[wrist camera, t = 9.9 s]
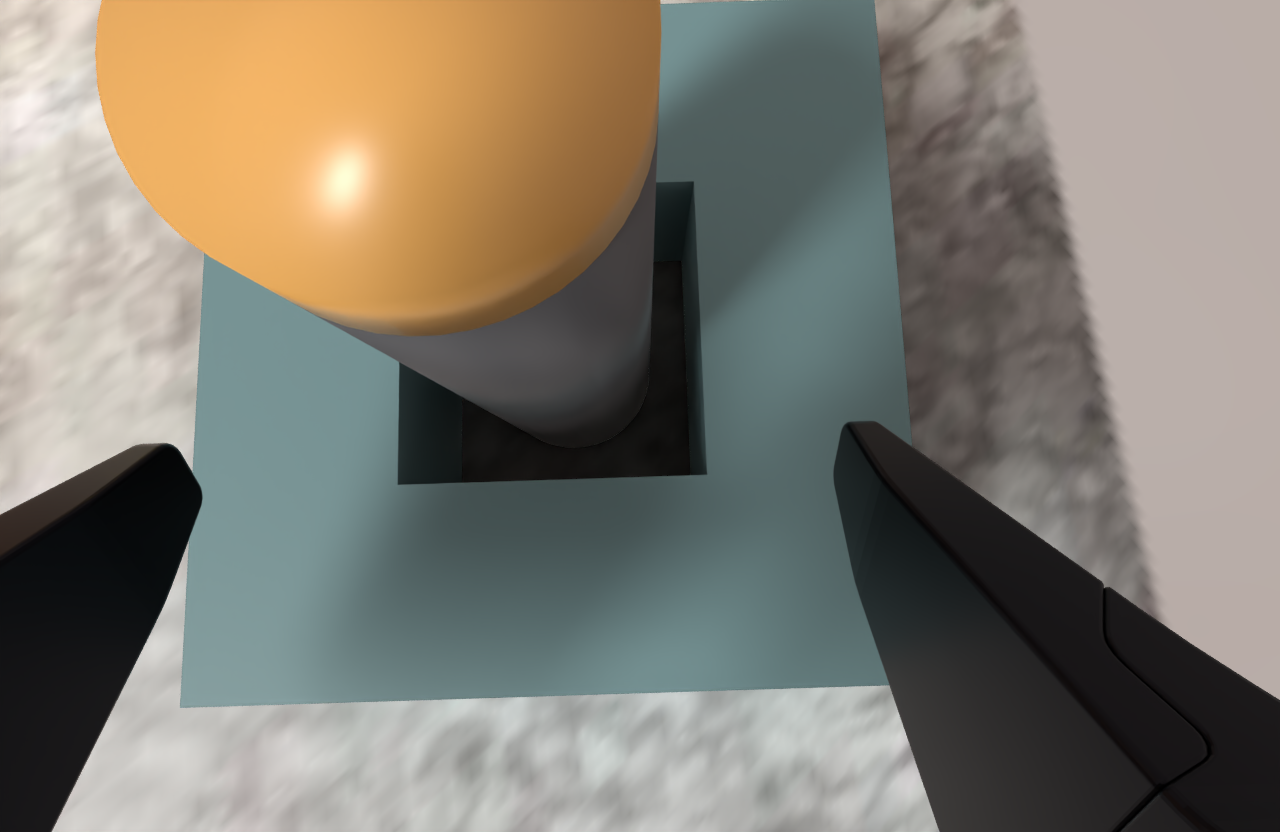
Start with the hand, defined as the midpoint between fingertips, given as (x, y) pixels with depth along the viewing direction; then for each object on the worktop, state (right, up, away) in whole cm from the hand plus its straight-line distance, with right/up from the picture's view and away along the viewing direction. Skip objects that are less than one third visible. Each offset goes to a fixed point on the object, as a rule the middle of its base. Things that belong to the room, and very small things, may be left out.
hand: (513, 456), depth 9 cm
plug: (0, +2, +9) cm, 9 cm away
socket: (0, +2, +9) cm, 9 cm away
